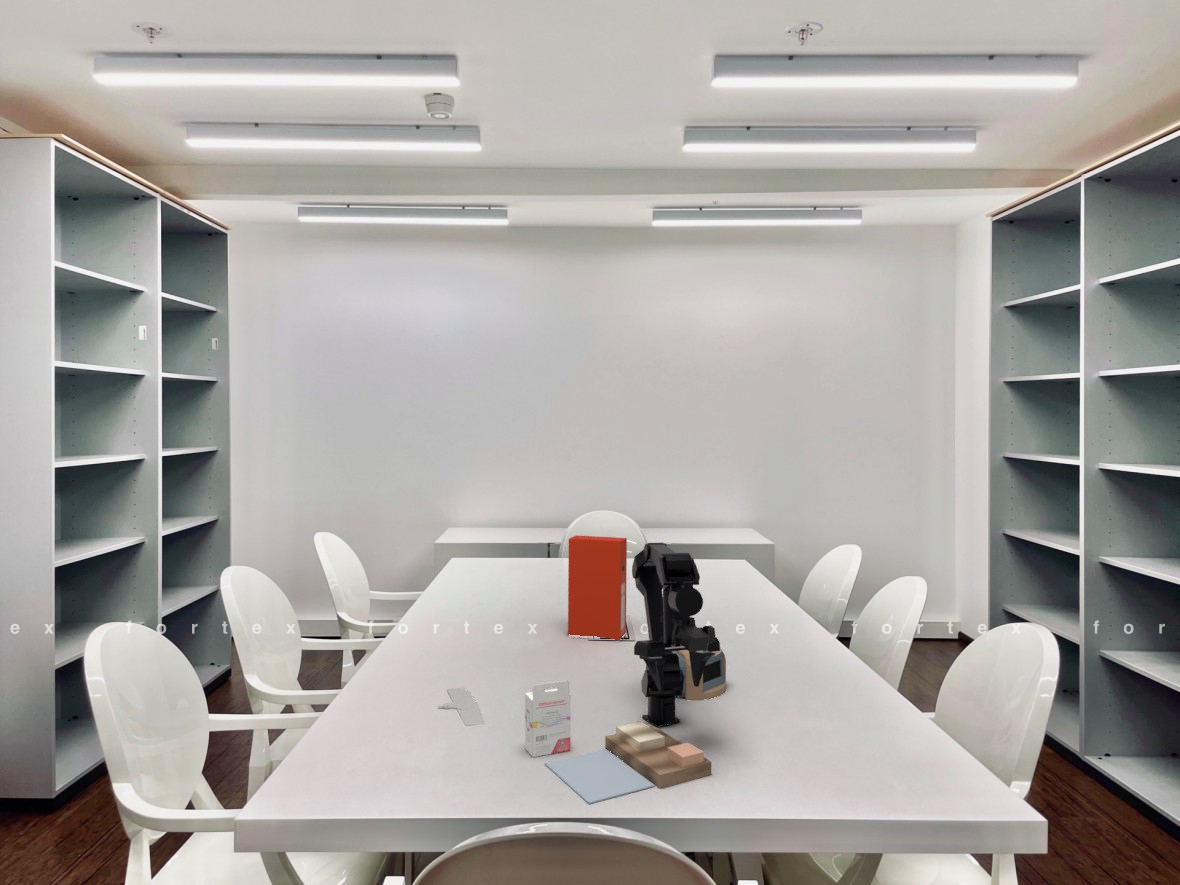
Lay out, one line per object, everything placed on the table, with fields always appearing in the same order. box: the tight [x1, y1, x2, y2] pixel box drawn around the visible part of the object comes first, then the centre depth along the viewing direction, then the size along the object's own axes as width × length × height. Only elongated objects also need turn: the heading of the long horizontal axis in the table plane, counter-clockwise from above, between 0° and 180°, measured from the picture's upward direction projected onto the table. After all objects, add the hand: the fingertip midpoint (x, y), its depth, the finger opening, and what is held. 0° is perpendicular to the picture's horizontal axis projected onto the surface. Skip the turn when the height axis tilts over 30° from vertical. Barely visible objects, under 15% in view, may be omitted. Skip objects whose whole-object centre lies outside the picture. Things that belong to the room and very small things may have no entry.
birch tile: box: [615, 721, 665, 752], centre depth 153 cm, size 9×6×2 cm, turn 29°
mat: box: [544, 748, 656, 805], centre depth 143 cm, size 18×14×1 cm
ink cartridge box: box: [524, 679, 571, 758], centre depth 154 cm, size 9×5×15 cm, turn 114°
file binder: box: [567, 535, 628, 640], centre depth 241 cm, size 8×17×32 cm, turn 73°
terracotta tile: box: [667, 742, 705, 768], centre depth 144 cm, size 5×5×2 cm
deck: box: [604, 725, 712, 789], centre depth 150 cm, size 20×12×2 cm, turn 29°
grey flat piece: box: [438, 687, 486, 727], centre depth 181 cm, size 25×24×1 cm
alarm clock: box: [672, 647, 727, 701], centre depth 194 cm, size 19×20×12 cm
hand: (678, 688), depth 156 cm, fingers open, 9 cm apart
